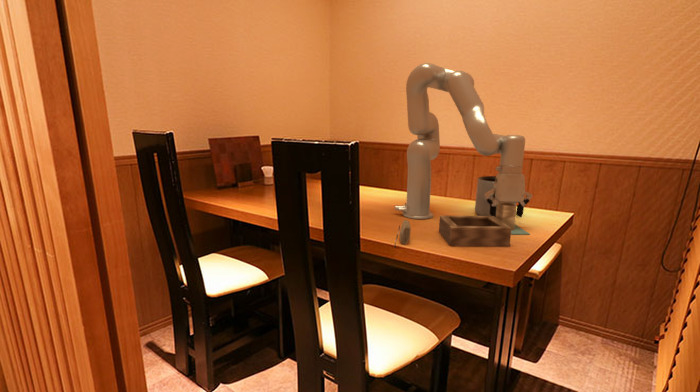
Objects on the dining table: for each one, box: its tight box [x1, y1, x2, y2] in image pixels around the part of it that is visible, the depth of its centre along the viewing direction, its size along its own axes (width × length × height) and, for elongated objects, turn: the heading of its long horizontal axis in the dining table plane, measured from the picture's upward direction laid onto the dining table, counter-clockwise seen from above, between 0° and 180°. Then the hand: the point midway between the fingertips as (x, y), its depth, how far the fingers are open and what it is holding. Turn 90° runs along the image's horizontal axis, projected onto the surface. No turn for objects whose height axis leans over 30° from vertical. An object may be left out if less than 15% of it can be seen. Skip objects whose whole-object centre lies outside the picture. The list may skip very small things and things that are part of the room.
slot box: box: [438, 214, 512, 248], centre depth 124 cm, size 19×15×6 cm
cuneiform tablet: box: [393, 219, 412, 248], centre depth 121 cm, size 7×4×12 cm
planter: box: [474, 175, 518, 217], centre depth 155 cm, size 16×16×16 cm
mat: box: [511, 224, 531, 236], centre depth 137 cm, size 12×14×1 cm
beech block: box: [496, 202, 517, 230], centre depth 136 cm, size 4×6×9 cm
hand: (505, 216), depth 136 cm, fingers open, 9 cm apart
